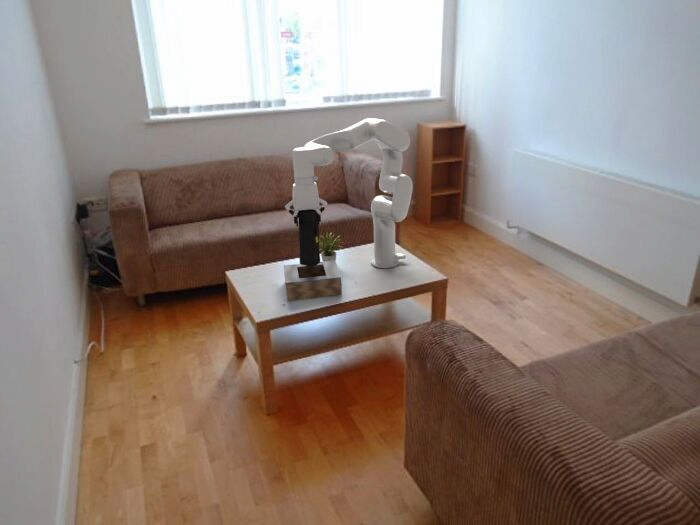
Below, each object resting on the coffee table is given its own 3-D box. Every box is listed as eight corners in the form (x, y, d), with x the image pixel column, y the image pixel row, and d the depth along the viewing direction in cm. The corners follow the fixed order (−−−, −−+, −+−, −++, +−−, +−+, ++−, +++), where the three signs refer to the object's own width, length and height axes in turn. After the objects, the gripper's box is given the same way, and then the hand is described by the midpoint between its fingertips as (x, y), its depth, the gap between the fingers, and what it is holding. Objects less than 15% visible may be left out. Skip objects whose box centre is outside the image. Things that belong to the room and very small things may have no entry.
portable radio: (323, 262, 212) (321, 203, 202) (315, 267, 207) (312, 207, 198) (307, 259, 216) (305, 201, 206) (299, 264, 211) (296, 204, 201)
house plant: (324, 276, 227) (322, 241, 221) (306, 267, 237) (303, 233, 231) (349, 267, 235) (348, 233, 229) (331, 259, 245) (329, 226, 239)
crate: (336, 277, 225) (335, 260, 222) (342, 295, 209) (341, 277, 206) (285, 282, 222) (283, 265, 219) (287, 301, 206) (285, 282, 203)
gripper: (326, 176, 203) (328, 219, 209) (281, 180, 200) (285, 223, 207) (328, 181, 196) (330, 225, 203) (282, 184, 193) (286, 229, 200)
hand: (307, 224), depth 205 cm, fingers closed on portable radio, 7 cm apart
